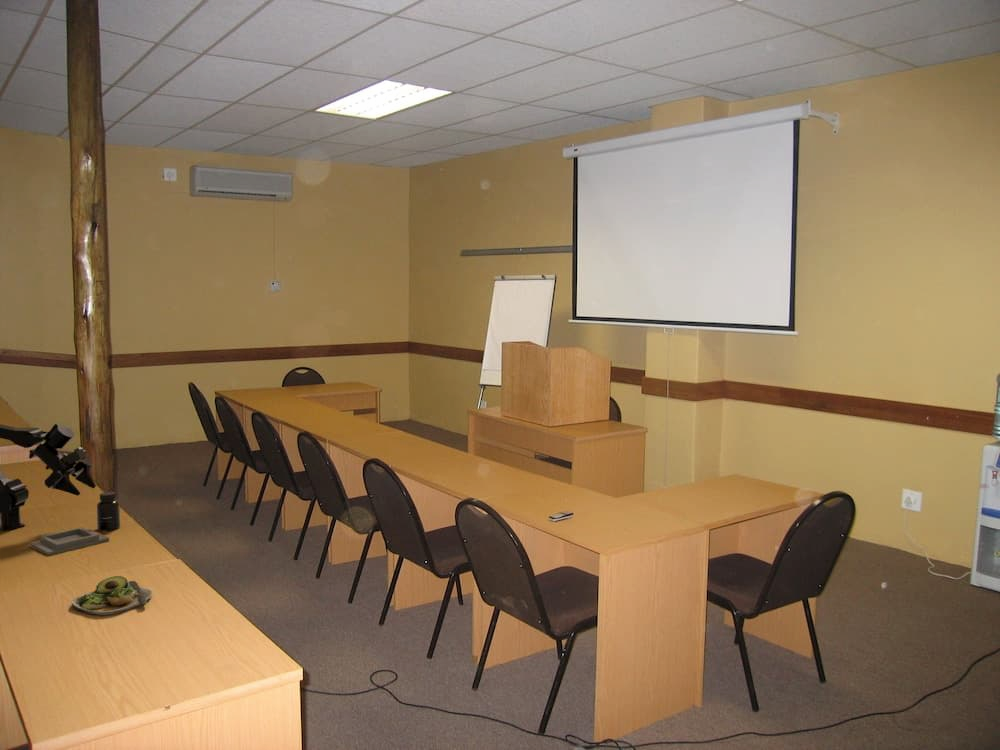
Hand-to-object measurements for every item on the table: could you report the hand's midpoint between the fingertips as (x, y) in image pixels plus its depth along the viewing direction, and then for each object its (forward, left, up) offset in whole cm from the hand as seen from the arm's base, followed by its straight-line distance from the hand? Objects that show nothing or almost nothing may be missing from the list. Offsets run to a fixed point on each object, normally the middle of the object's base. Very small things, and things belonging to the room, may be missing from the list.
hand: (87, 490), depth 259 cm
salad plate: (+67, -24, -13) cm, 73 cm away
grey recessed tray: (+11, -11, -13) cm, 20 cm away
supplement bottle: (+5, +4, -13) cm, 15 cm away
